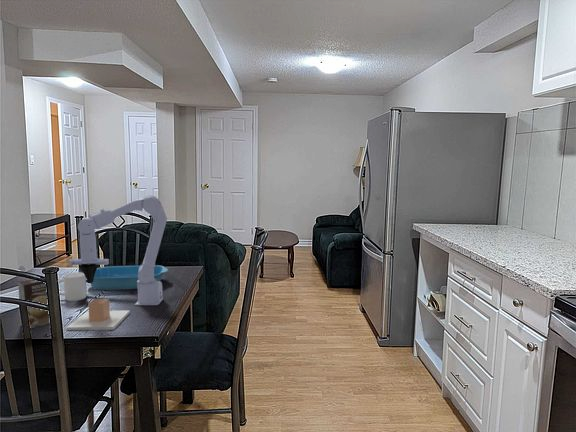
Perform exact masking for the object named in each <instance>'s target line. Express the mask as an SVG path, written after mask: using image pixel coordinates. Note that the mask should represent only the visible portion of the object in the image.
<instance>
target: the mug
mask: <svg viewBox="0 0 576 432" xmlns="http://www.w3.org/2000/svg"><path fill="white" fill-rule="evenodd" d="M57 281H59V285H60V284H61V283H63V289H64V290H63V291H61V290H60V295H59V296H63V297H64V299H65V300H66V301H67V302H76V301H77V302H78V301H82V300H84V299H86V297H88V296H87V295H88V294H87V279H86V277H85V275H84V273H83V272H82V271H78V272H71V273H70V272H69V273H67V274H66V273H65V274H64V275H63V278H59V279H58V280H57Z"/></svg>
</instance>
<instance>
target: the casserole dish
mask: <svg viewBox="0 0 576 432" xmlns="http://www.w3.org/2000/svg"><path fill="white" fill-rule="evenodd" d="M140 266H141V265H113V266H111V265H109V266H103V267H97V270H96V272H95V275H94V280H93V282H92V283H89V284H90V286H91V287H92V288H93V289H94V290H97V291H116V290H122V291H123V290H138V287H137V281H138V280H139V279H138V269H139V267H140ZM168 271H169V268H167V267H165V266H163V265H158V264H157V265H156V264H155V266H154V278H155V279H156V281H160V282H161V281H162V278H163V275H164V274H167V272H168Z"/></svg>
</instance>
